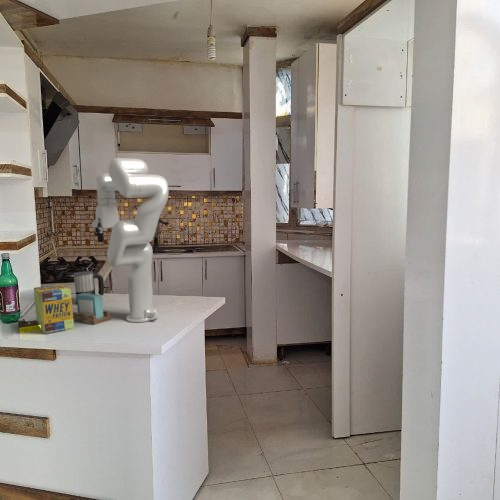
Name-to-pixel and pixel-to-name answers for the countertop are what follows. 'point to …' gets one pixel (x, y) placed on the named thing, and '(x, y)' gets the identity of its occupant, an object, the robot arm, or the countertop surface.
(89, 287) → the milk frother
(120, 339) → the countertop surface
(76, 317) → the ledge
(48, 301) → the protein box
